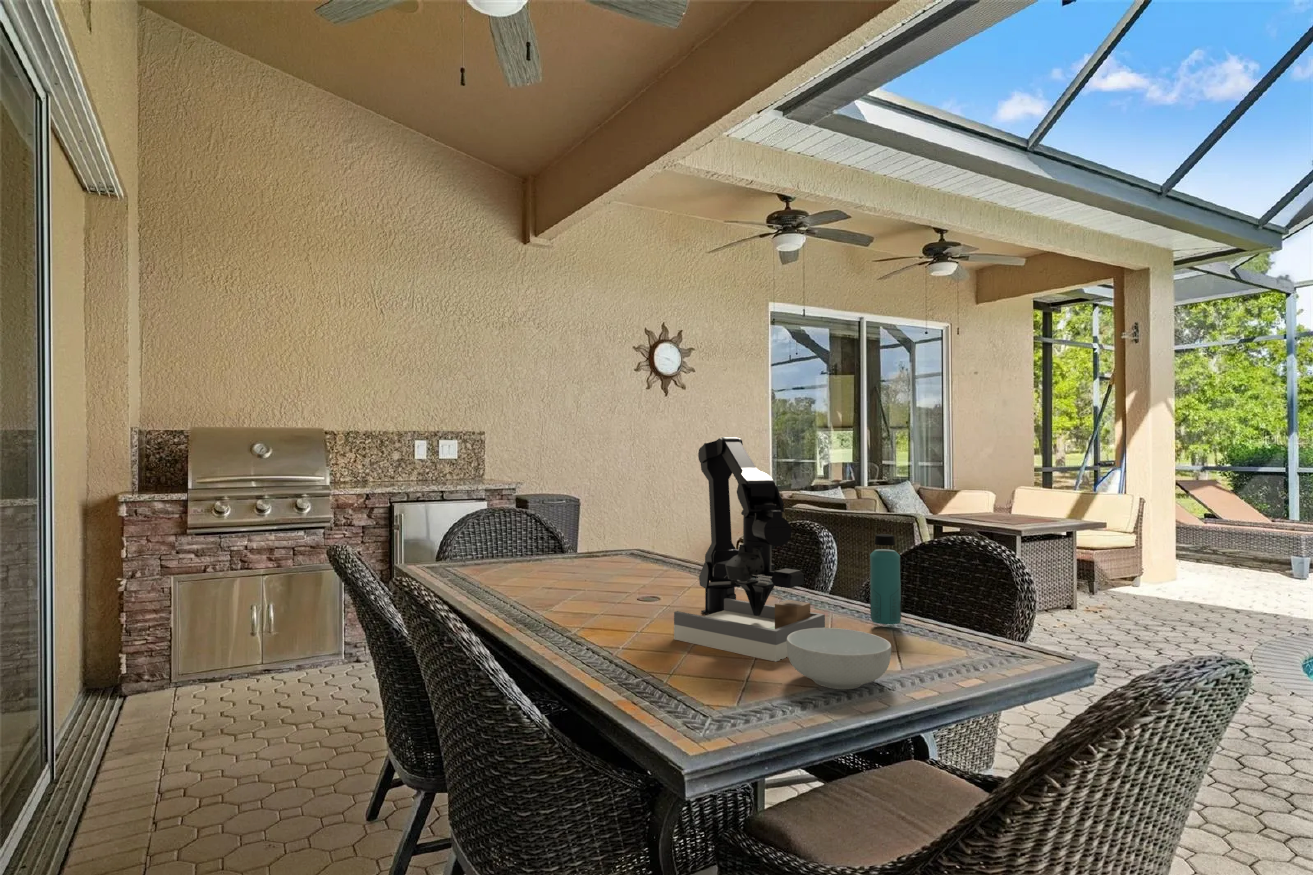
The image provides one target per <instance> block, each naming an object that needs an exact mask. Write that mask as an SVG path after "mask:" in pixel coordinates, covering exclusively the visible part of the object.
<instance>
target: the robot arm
mask: <svg viewBox="0 0 1313 875" xmlns="http://www.w3.org/2000/svg"><path fill="white" fill-rule="evenodd" d="M743 445H744V444H743V440H742V438H739V437H737V436H733V437H732V436H731V437H730V436H728V437H727V436H725V437H724V436H723V437H720V438H718V439H715V440H713V441H710V442H705V443H703V445H702V446H701V447H699V449H698V451H697V452H698V455H697V456H698V462H699V463H700V470H701V472H702V474H703V475H704V476H705V478H706V480H707V481H708V495H709V498H708V499H709V516H710V518H709V519H710V520H709V521H710V538H711V541H710V545H709V547H708V549H707V551H706V553H705V555H704V563H703V566H702V568H701V571H700V573H699V576H698V580H699V586H700V587H702V588H703V589H705V591H704V592H705V593H704V594H705V595H704V598H705V599H704V600H705V603H704V604H705V607H704V609H703V610H701V611H700V613H702V614H705V615H709V614H713V613H716V612H720V611H723V610H724V599H725V598H729V599H735V600H737V593H736V590H735V589H736V588H742V589H743V590H744V592H745V594H746V596H747V600H748V602H749V603H750V606H751V608H752V611H753V614H754V616H760V614H761V612H762V610H763V608H764V605H766V603H767V600H768V599H769V596H770V595H771V593H772V591H773V590H774V588H775V587H778V588H783V589H784V588H785V589H793V588H795V587H799V586H802V585H805V584H804V583H805V581H804V580H805V576H804V574H803V572H802V570H800V569H794V568H793V569H792V568H782V569H778V570H775V569H776V568H775V566H776V564H774V563H772V551H773V550H775V549H776V547H782V546H785V545H786V544H787V543H788V542H789V541H790V539H791V537H792V530H793V529H792V527H791V524H790V522H789V521H788V520H787V519H786V518H784V517H783V514H784V513H785V508H784V506H785V503H784V500H783V498H782V496H781V493H780V492H779V488H778V485H777V483H776V482H775V480H774V479H773V478H772V477H771V476H770V475H769V473H766V472H764V471H761V470H759V469H758V467H756V465H755V462H753V459H752V458H751V457H750V455H749V454H748V452H747V450H746V448H745V447H744V446H743ZM731 476H734V478H735V480H736V482H737V488H736V489H737V490H736V494H737V495H736V496H737V500H738V501H739V502H738V503H739V504H740V505H741V508H742V510H741V513H740V514H741V515H742V517H743V519H742V520H743V521H742V523H743V524H742V526H743V529H742V530H743V534H742V536H743V537H742V538H743V539H742V542H743V543H742V544H739V547H738V549H737V548H736V547H735V545H734V544H733V540H732V539H733V538H732V521H731V520H732V518H731V500H730V496H731V495H730V478H731Z"/></svg>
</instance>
